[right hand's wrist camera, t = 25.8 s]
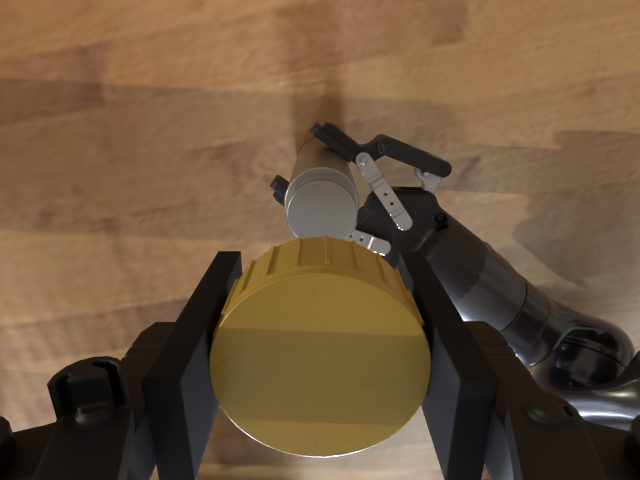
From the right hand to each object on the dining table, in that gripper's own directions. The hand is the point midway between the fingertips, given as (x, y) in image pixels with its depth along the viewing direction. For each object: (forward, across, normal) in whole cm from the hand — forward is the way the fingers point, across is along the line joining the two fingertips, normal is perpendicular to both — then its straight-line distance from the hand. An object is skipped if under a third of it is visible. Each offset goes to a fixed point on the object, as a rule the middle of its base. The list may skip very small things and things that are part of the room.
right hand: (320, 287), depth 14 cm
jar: (+26, 0, 0) cm, 26 cm away
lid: (-4, 0, 0) cm, 4 cm away
